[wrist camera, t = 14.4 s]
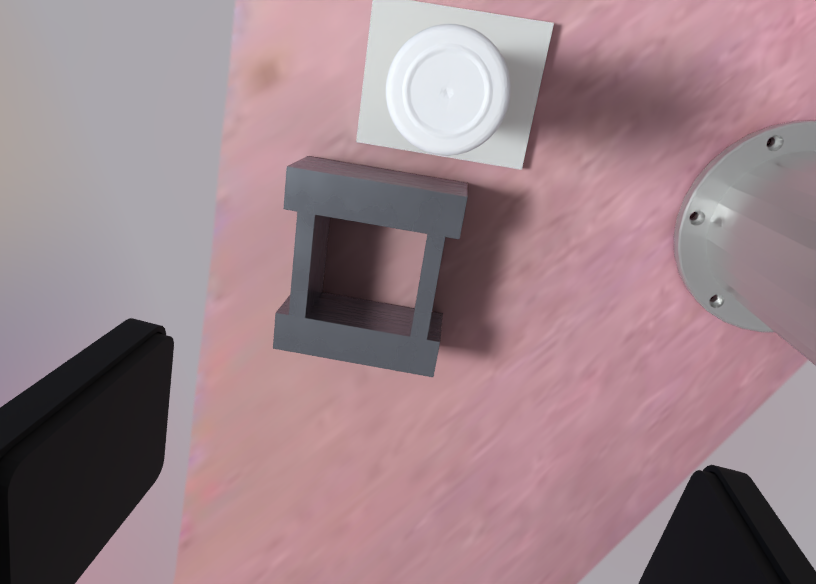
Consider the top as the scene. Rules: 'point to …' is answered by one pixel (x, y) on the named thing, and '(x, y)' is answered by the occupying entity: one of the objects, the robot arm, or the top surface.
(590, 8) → the top surface
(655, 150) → the top surface
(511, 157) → the rubber pad
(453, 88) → the sprinkles bottle
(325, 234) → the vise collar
